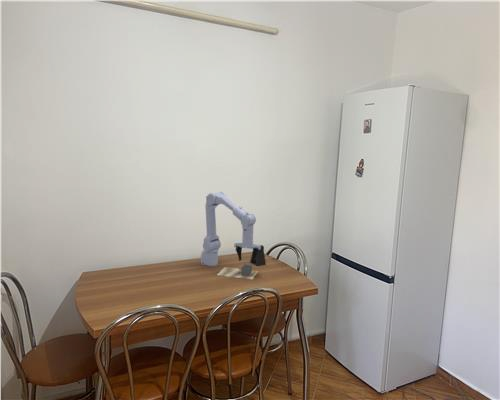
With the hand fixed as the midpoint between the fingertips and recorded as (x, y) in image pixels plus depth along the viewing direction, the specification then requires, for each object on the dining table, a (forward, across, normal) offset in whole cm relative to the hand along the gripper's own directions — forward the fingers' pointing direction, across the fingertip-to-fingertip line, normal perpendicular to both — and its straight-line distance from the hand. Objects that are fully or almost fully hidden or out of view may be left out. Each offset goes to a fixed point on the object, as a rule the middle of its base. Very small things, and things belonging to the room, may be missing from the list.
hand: (246, 260), depth 200 cm
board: (+8, -5, 0) cm, 10 cm away
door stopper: (+9, +2, +20) cm, 22 cm away
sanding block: (+7, 0, 0) cm, 7 cm away
